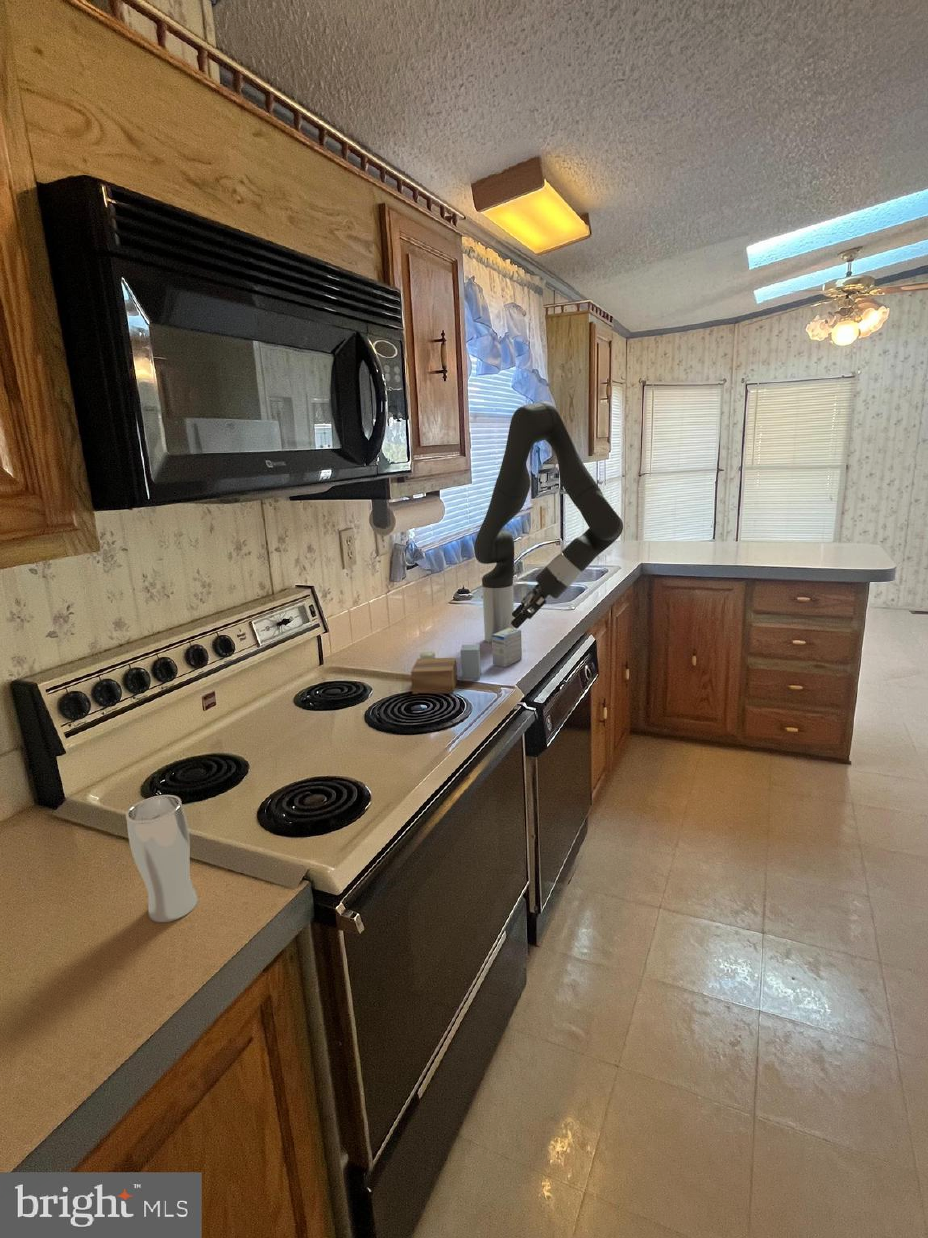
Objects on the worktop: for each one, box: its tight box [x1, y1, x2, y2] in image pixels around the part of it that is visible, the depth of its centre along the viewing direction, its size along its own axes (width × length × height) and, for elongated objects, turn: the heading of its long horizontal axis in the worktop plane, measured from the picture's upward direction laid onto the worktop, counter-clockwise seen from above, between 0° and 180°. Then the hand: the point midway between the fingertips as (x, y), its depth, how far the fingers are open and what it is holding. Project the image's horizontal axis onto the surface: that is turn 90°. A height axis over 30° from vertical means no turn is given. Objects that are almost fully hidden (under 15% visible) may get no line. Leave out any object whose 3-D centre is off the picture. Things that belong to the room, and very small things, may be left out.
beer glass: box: [125, 794, 198, 923], centre depth 85 cm, size 7×7×15 cm
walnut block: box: [410, 657, 458, 695], centre depth 162 cm, size 10×10×6 cm
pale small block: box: [419, 651, 436, 658], centre depth 173 cm, size 4×4×5 cm
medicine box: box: [491, 628, 523, 668], centre depth 177 cm, size 8×4×9 cm, turn 141°
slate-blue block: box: [460, 644, 482, 680], centre depth 167 cm, size 4×4×8 cm
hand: (513, 621), depth 163 cm, fingers open, 8 cm apart
